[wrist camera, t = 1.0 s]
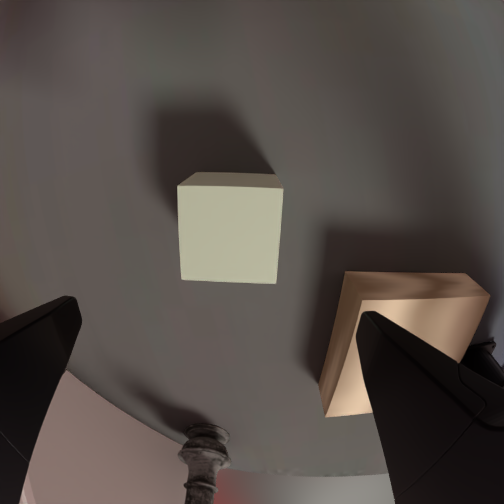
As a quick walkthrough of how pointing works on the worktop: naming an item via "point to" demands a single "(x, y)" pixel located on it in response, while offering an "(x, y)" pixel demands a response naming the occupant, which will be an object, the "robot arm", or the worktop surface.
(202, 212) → the sage cube
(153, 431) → the milk carton
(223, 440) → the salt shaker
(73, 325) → the robot arm
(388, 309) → the oak riser block
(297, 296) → the worktop surface
